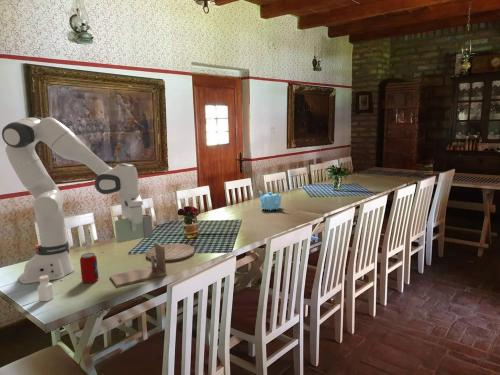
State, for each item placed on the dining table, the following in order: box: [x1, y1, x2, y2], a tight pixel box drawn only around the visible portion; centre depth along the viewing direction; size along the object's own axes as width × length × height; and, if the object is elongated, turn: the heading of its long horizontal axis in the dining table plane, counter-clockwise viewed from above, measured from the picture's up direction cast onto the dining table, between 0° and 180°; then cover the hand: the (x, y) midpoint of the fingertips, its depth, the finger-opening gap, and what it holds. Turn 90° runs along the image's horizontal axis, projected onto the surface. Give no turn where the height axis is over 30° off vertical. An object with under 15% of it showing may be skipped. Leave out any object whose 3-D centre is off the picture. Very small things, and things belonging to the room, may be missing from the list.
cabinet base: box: [109, 241, 168, 288], centre depth 169 cm, size 22×12×13 cm, turn 123°
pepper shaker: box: [37, 275, 55, 302], centre depth 148 cm, size 4×4×10 cm
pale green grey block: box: [114, 213, 154, 244], centre depth 170 cm, size 16×4×10 cm, turn 124°
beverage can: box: [79, 252, 99, 284], centre depth 165 cm, size 7×7×12 cm
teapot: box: [259, 190, 283, 211], centre depth 292 cm, size 16×20×14 cm
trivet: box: [145, 243, 195, 264], centre depth 198 cm, size 25×25×2 cm
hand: (132, 229), depth 170 cm, fingers closed on pale green grey block, 2 cm apart
